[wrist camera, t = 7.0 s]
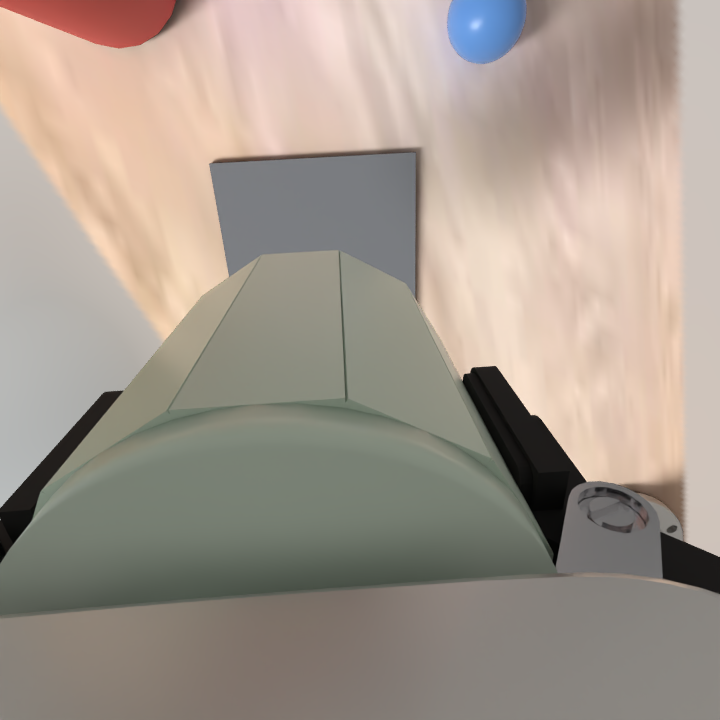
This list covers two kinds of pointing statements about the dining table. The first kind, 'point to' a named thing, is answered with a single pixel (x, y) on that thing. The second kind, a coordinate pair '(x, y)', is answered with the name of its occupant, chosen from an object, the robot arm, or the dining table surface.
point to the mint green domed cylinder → (280, 457)
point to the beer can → (99, 18)
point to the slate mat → (320, 209)
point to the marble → (485, 28)
